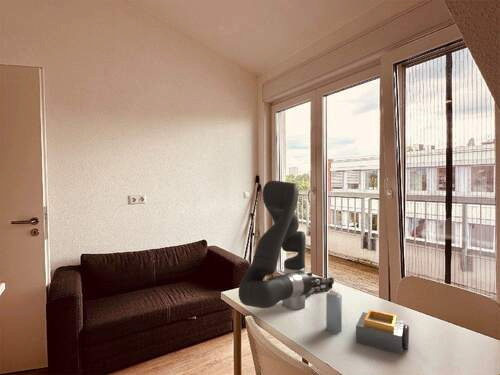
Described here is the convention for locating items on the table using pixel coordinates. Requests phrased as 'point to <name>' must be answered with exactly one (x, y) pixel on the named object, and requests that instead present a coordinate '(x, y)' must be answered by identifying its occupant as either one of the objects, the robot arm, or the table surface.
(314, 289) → the valve
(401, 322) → the gold-trimmed base block
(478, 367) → the table surface
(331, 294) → the light blue bottle
